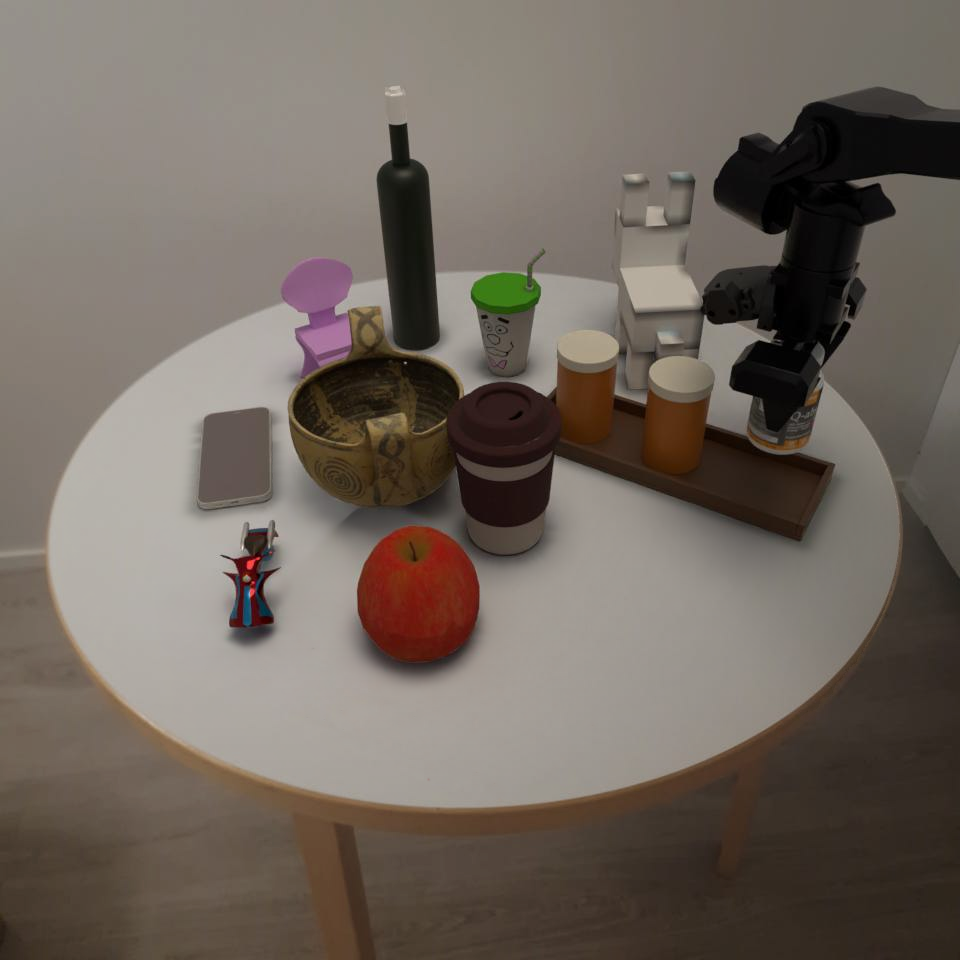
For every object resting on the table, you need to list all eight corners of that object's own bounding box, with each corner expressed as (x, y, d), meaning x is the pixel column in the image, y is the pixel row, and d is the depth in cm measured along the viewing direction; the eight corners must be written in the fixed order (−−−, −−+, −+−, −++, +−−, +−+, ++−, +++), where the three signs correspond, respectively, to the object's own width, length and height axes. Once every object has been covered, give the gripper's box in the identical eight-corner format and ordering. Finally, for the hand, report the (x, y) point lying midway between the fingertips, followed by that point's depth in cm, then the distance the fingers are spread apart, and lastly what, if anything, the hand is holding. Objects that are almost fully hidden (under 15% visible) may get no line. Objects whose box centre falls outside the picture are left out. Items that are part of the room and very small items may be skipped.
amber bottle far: (622, 420, 99) (629, 339, 92) (596, 451, 95) (602, 369, 88) (571, 403, 101) (574, 323, 94) (544, 433, 97) (545, 352, 91)
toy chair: (321, 416, 101) (299, 297, 92) (291, 379, 107) (268, 263, 97) (387, 393, 105) (373, 275, 95) (355, 357, 110) (339, 243, 100)
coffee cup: (443, 506, 90) (434, 380, 80) (540, 487, 91) (542, 362, 82) (467, 577, 82) (460, 448, 73) (571, 555, 84) (578, 427, 74)
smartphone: (195, 505, 90) (202, 414, 101) (197, 511, 90) (204, 420, 101) (271, 494, 90) (270, 405, 102) (273, 501, 91) (271, 412, 102)
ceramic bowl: (490, 544, 85) (486, 416, 76) (309, 573, 83) (280, 446, 74) (451, 407, 102) (443, 287, 92) (298, 428, 100) (274, 308, 90)
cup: (461, 374, 107) (455, 258, 97) (493, 342, 112) (491, 228, 102) (520, 392, 104) (520, 273, 94) (551, 358, 109) (553, 242, 99)
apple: (451, 569, 83) (444, 483, 76) (503, 648, 76) (501, 561, 69) (345, 609, 80) (329, 523, 73) (390, 696, 73) (376, 609, 66)
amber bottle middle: (710, 448, 94) (724, 366, 88) (687, 482, 91) (700, 399, 84) (654, 430, 97) (664, 349, 90) (630, 463, 93) (638, 380, 86)
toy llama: (632, 402, 102) (648, 236, 89) (607, 321, 115) (618, 165, 102) (699, 399, 102) (725, 232, 89) (666, 317, 115) (685, 162, 102)
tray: (831, 479, 91) (835, 463, 90) (800, 541, 85) (804, 525, 83) (563, 392, 104) (564, 378, 102) (518, 441, 97) (518, 426, 96)
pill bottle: (793, 465, 82) (816, 374, 76) (734, 443, 85) (752, 352, 79) (817, 433, 86) (841, 343, 79) (760, 413, 88) (779, 324, 82)
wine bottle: (447, 330, 114) (431, 81, 95) (428, 354, 110) (407, 99, 91) (406, 322, 116) (382, 76, 96) (385, 345, 112) (356, 94, 93)
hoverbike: (222, 648, 77) (207, 603, 73) (239, 547, 86) (226, 504, 83) (283, 642, 77) (271, 598, 74) (293, 543, 86) (283, 499, 83)
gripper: (759, 194, 82) (733, 341, 93) (679, 282, 71) (660, 440, 81) (886, 219, 78) (845, 371, 88) (824, 318, 66) (784, 481, 76)
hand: (783, 412), depth 83 cm, fingers closed on pill bottle, 5 cm apart
